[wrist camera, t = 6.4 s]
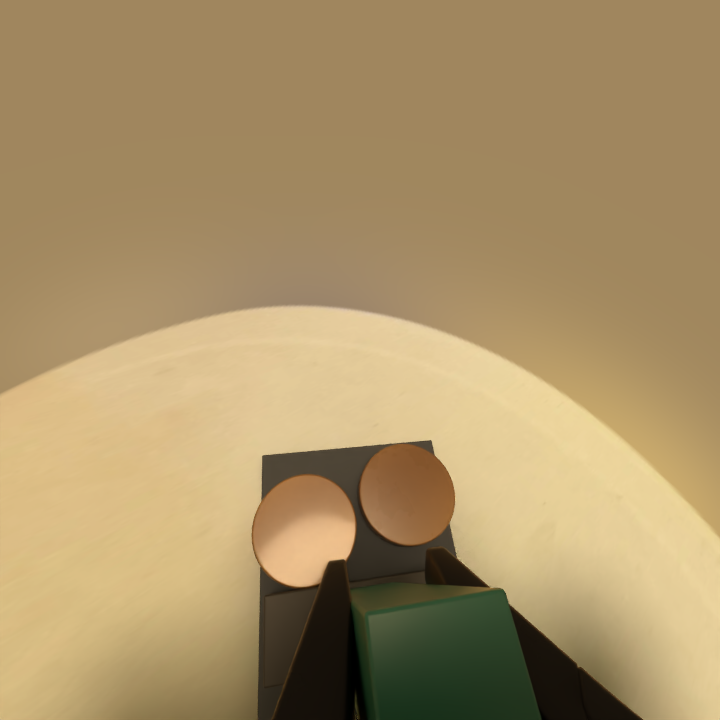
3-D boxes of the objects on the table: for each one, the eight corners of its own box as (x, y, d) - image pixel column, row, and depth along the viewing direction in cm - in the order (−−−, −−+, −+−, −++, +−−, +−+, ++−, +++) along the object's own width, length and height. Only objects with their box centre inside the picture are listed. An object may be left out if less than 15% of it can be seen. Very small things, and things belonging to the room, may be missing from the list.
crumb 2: (465, 494, 16) (474, 490, 15) (409, 570, 14) (414, 571, 13) (397, 432, 17) (401, 425, 16) (337, 496, 15) (338, 492, 14)
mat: (483, 688, 13) (485, 690, 12) (258, 731, 12) (257, 734, 11) (430, 441, 17) (431, 440, 17) (262, 456, 16) (262, 455, 16)
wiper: (464, 640, 13) (768, 775, 4) (269, 678, 12) (118, 958, 3) (447, 566, 14) (654, 545, 5) (269, 593, 13) (161, 625, 4)
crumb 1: (375, 529, 15) (378, 527, 14) (301, 613, 13) (299, 617, 12) (310, 459, 16) (309, 453, 15) (235, 529, 14) (229, 527, 13)
